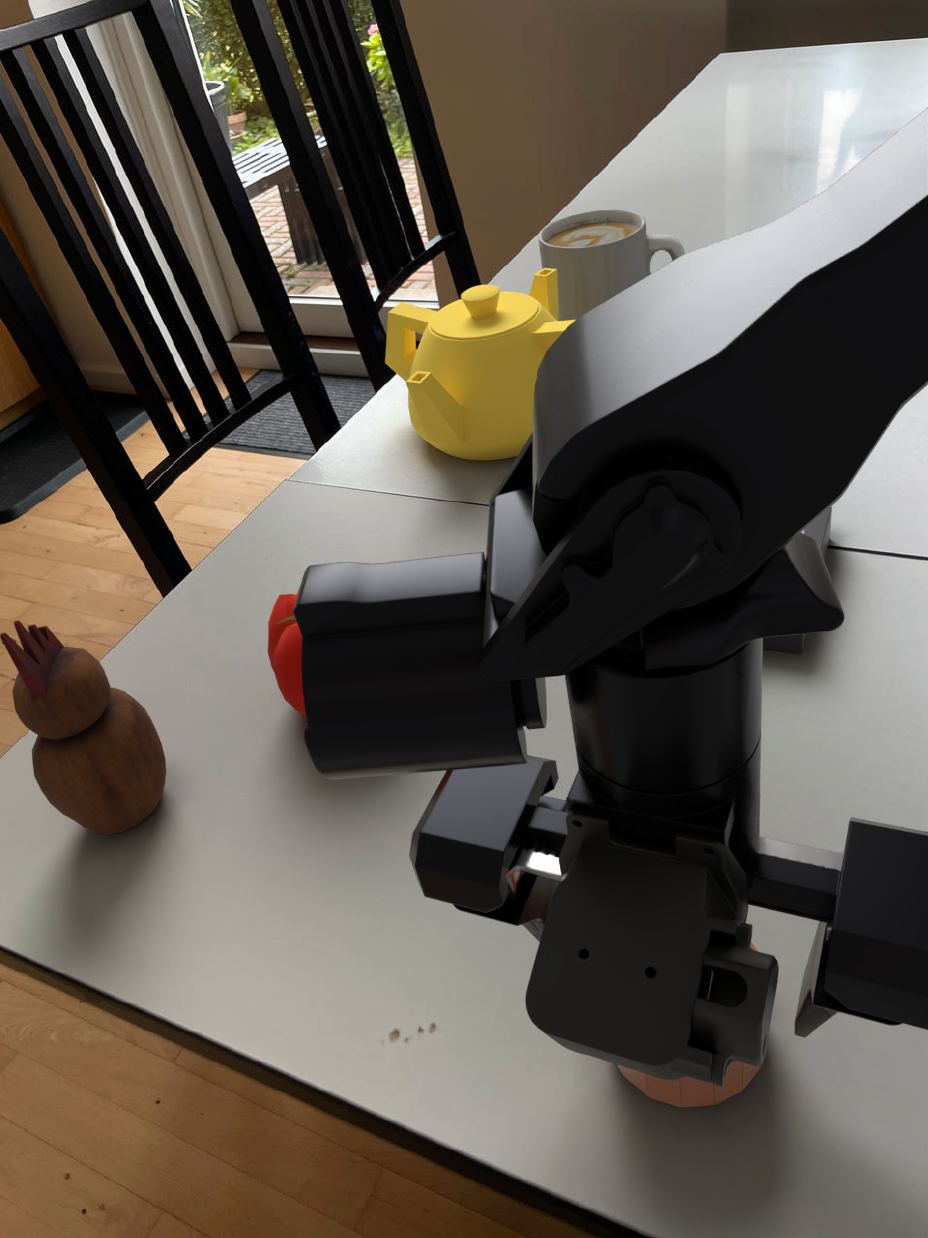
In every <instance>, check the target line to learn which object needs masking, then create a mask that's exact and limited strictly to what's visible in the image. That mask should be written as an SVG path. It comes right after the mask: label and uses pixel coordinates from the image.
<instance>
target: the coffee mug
mask: <svg viewBox="0 0 928 1238" xmlns="http://www.w3.org/2000/svg"><path fill="white" fill-rule="evenodd" d="M538 246H539V254H540V262H541V270H542V269H544V268H550V269H557V280H558V316H559V321H568V320H577V319H578V318H580V317H581V316H582V315H584V314H585V313H587V312H589V311H590V310H592V309H594V308H595V307H597V306H599V305H600V304H602V303H604V302H605V301H607V300H609V299H610V298H612V297H614V296H615V295H617V294H619V293H620V292H622V291H623V290H625V289H627V288H628V287H630V286H632V285H633V284H635V283H637V282H638V281H640V280H642V279H643V278H645V277H647V276H648V275H650V274H652V273H651V262H652V258H653V257H654V255H655V254H656V253H657V252H659V251H664V252H666V253H668V254H669V256H670V258H671V262H672V261H673V260H675V259H677V258H678V257H680V256H682V255H684V254H686V251H685V248H684V245H683V244H682V242H681V241H680V240H679V238H677V237H676V236H673V235H670V234H661V233H660V234H658V233H657V234H648V233H647V223H646V218H645V217H644V216H643V214H640V213H639V212H637V211H634V210H630V209H619V208H606V209H605V208H603V209H595V210H594V209H593V210H588V211H582V212H577V213H573V214H570V215H567V216H563V217H561V218H559V219H556V220H554V221H552V222H550V223H548V224H547V225H546V226H544V227H543V228H542V229H541V230H540V231H539V233H538Z"/></svg>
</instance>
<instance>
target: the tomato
mask: <svg viewBox="0 0 928 1238" xmlns="http://www.w3.org/2000/svg"><path fill="white" fill-rule="evenodd" d="M299 589H300V587H299V588H298V590H297V592H296V593H295V594H294V593H285V594H283V593H282V594H279V595H278V597H277V598H276V600H275V602H274V604H273V606H272V610H271V613H270V615H269V619H268V622H267V625H268V627H267V629H268V632H267V655H268V659H269V663H270V667H271V669H272V671H273V673H274V676H275V680H276V683H277V686H278V689H279V691H280V693H281V695H282V697H283V699H284V700H285V702H287V703H288V704H289V705H290V706H291V708H293V709H294V710H296V711H297V712H298V713H299V714H300V715H301V716H304V717H306V712H305V705H304V697H303V687H302V670H301V660H302V635H301V633H300V630H299V627H298V624H297V622H296V619H295V616H294V613H293V609H294V606H295V602H296V599H297V595H298V592H299Z"/></svg>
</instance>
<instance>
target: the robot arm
mask: <svg viewBox="0 0 928 1238" xmlns="http://www.w3.org/2000/svg"><path fill="white" fill-rule="evenodd" d="M927 386H928V106H927V107H926V108H925V109H923V110H922V111H921V112H920V113H919V114H917V115H916V116H914V118H912V119H911V120H909V122H907V123H906V124H905V125H904V126H902V127H901V128H900V129H899V130H897V131H896V132H895V133H894V134H892V135H891V136H890V137H889V138H888V139H886V140H884V142H882V143H881V144H880V145H879V146H878V147H876V148H875V149H873V150H872V151H871V152H870V153H868V155H867V156H865V157H864V158H863V159H861V160H860V161H859V162H858V163H857V164H855V165H854V166H853V167H852V168H850V169H849V170H848V171H847V172H846V173H844V174H843V175H842V176H840V177H839V178H838V179H837V180H835V182H833V183H832V184H830V185H829V186H827V188H826V189H824V190H823V191H821V192H819V194H817V195H815V196H813V197H811V198H810V199H808V200H807V201H805V202H803V203H802V204H800V205H798V206H797V207H795V208H793V209H792V210H789V211H788V212H786V213H784V214H783V215H781V216H779V217H778V218H776V219H775V220H772V221H770V222H768V223H766V224H764V225H761V226H758V227H754V228H751V229H750V230H746V231H744V232H741V233H738V234H735V235H732V236H730V237H727V238H724V239H722V240H719V241H716V242H713V243H710V244H708V245H705V246H702V247H699V248H696V249H692V250H690V251H688V252H685V254H684V255H682V256H680V257H678V258H677V259H675V260H673V261H672V260H671V261H670V262H668V263H667V264H665V265H663V266H661V267H660V268H658V269H657V270H655V271H653V272H652V273H651V274H650V275H648V276H647V277H645V278H643V279H642V280H640V281H638V282H637V283H635V284H633V285H632V286H630V287H628V288H627V289H625V290H623V291H622V292H620V293H619V294H617V295H615V296H614V297H612V298H610V299H609V300H607V301H605V302H604V303H602V304H600V305H599V306H597V307H595V308H594V309H592V310H590V311H589V312H587V313H585V314H584V315H582V316H581V317H580V318H578V319H577V320H575V321H574V322H573V323H571V324H570V325H569V326H568V327H567V328H566V329H565V330H564V332H563V333H562V334H561V335H560V336H559V337H558V338H557V340H556V341H555V342H554V343H553V344H552V345H551V347H550V348H549V349H548V350H547V351H546V354H545V356H544V358H543V360H542V362H541V364H540V366H539V368H538V370H537V379H536V382H535V387H534V402H533V432H532V434H531V435H530V437H529V438H528V440H527V442H526V443H525V445H524V446H523V448H522V450H521V451H520V453H519V454H518V456H516V458H515V459H514V461H513V463H512V464H511V466H509V468H508V470H507V472H506V473H505V475H504V476H503V478H502V480H501V481H500V483H499V484H498V486H497V488H496V489H495V491H494V492H493V494H492V495H491V497H490V499H489V501H488V514H487V515H488V517H487V533H486V534H487V535H486V548H485V549H486V550H485V552H484V551H478V552H469V553H461V554H460V553H459V554H451V555H443V556H434V557H425V558H424V557H423V558H416V559H405V560H398V561H390V562H389V561H388V562H381V563H380V562H378V563H367V562H358V561H338V562H337V561H336V562H329V563H321V564H320V563H319V564H312V565H308V566H307V568H306V569H305V570H304V572H303V575H302V577H301V582H300V586H299V588H300V589H299V588H298V590H299V592H298V591H297V592H298V595H297V599H296V602H295V606H294V609H293V613H294V616H295V619H296V622H297V624H298V627H299V630H300V633H301V635H302V660H301V670H302V687H303V697H304V705H305V712H306V716H305V717H306V722H305V726H304V731H303V732H304V733H303V737H304V738H303V739H304V743H305V746H306V750H307V752H308V754H309V757H310V760H311V761H312V763H313V765H314V767H315V769H316V771H318V773H319V774H320V775H321V776H322V777H323V778H325V779H327V780H330V781H331V780H332V781H333V780H343V779H356V778H369V777H382V776H394V775H395V776H396V775H407V774H408V775H409V774H418V773H421V774H422V773H431V772H444V771H445V772H444V774H443V776H442V777H441V779H440V782H439V784H438V785H437V787H436V789H435V791H434V792H433V794H432V797H431V798H430V800H429V802H428V804H427V806H426V807H425V809H424V811H423V813H422V815H421V817H420V818H419V820H418V822H417V824H416V826H415V828H414V829H413V832H412V833H411V840H410V845H409V853H408V857H409V860H410V863H411V865H412V868H413V872H414V876H415V878H416V881H417V884H418V885H419V887H420V890H421V892H422V894H423V896H424V898H428V899H431V900H435V901H439V902H442V903H447V904H449V905H452V906H453V907H454V908H455V909H456V910H458V911H460V912H463V913H467V914H471V915H474V916H478V917H480V918H486V919H489V920H493V921H496V922H501V923H504V924H506V925H507V924H508V925H511V926H515V927H519V926H523V927H524V928H525V929H526V930H527V931H528V932H529V933H530V934H531V935H532V937H534V938H535V939H536V941H538V942H539V943H538V947H537V950H536V954H535V957H534V961H533V965H532V968H531V972H530V975H529V979H528V983H527V987H526V992H525V997H524V1000H525V1001H524V1002H525V1003H524V1004H525V1010H526V1012H527V1015H528V1018H529V1020H530V1021H531V1023H532V1024H533V1025H534V1026H535V1027H536V1028H537V1029H538V1030H539V1031H541V1032H542V1033H543V1034H545V1035H546V1036H548V1037H549V1038H550V1039H552V1040H553V1041H555V1042H556V1043H557V1044H559V1045H560V1046H561V1047H563V1048H565V1049H567V1050H569V1051H571V1052H573V1053H576V1054H581V1055H584V1056H587V1057H591V1058H595V1059H598V1060H600V1061H604V1062H608V1063H611V1064H613V1065H616V1066H617V1065H620V1066H623V1067H626V1068H630V1069H633V1070H636V1071H639V1072H642V1073H644V1074H647V1075H650V1076H653V1077H656V1078H660V1079H664V1080H676V1079H680V1078H683V1077H685V1076H687V1077H691V1078H694V1079H697V1080H700V1081H704V1082H707V1083H712V1084H714V1085H717V1086H720V1087H723V1086H724V1083H725V1079H726V1074H727V1069H728V1067H729V1065H730V1064H731V1063H732V1062H735V1061H739V1062H743V1063H747V1064H750V1065H753V1066H757V1067H758V1066H760V1065H761V1064H762V1065H763V1064H764V1061H765V1056H766V1052H767V1047H768V1041H769V1034H770V1028H771V1023H772V1017H773V1012H774V1011H773V1010H774V1006H775V1000H776V994H777V989H778V981H779V972H780V971H779V970H780V966H779V962H778V960H777V958H776V957H775V955H773V954H769V953H765V952H762V951H759V950H758V951H755V950H753V949H752V948H751V947H750V945H751V942H752V937H753V930H754V929H753V924H751V923H747V919H748V914H749V906H753V907H757V908H762V909H765V910H770V911H773V912H778V913H782V914H787V915H792V916H795V917H800V918H803V919H808V920H813V921H817V922H818V924H817V928H816V930H815V933H814V937H813V942H812V945H811V948H810V952H809V955H808V959H807V962H806V966H805V968H804V972H803V976H802V980H801V986H800V991H799V996H798V1002H797V1007H796V1013H795V1019H794V1035H795V1036H797V1037H800V1038H804V1039H805V1038H807V1037H808V1036H810V1035H811V1034H812V1033H814V1031H816V1030H817V1029H818V1028H820V1027H821V1026H822V1025H824V1024H825V1023H827V1022H828V1020H830V1019H831V1018H833V1017H834V1016H835V1015H836V1014H838V1013H840V1014H844V1015H849V1016H852V1017H855V1018H859V1019H864V1020H868V1021H871V1022H875V1023H878V1024H882V1025H886V1026H890V1027H898V1026H900V1025H907V1026H910V1027H915V1028H919V1029H922V1030H926V1031H928V831H925V830H921V829H915V828H909V827H905V826H899V825H894V824H889V823H885V822H879V821H873V820H868V819H863V818H857V817H854V816H853V817H851V816H850V818H849V819H848V820H849V821H848V827H847V833H846V839H845V844H844V850H843V851H833V850H828V849H823V848H819V847H813V846H809V845H804V844H799V843H793V842H790V841H784V840H779V839H775V838H769V837H765V836H760V832H761V831H760V829H761V827H760V826H761V818H760V817H761V773H762V772H761V770H762V769H761V768H762V766H761V765H762V764H761V763H762V714H763V712H762V711H763V710H762V709H763V707H762V706H763V655H764V654H763V653H764V652H763V650H764V649H763V638H766V637H776V636H786V635H797V634H806V635H808V634H816V633H817V634H818V633H827V632H832V631H836V630H837V629H839V628H840V627H841V626H842V625H843V623H844V621H845V619H846V618H845V612H844V609H843V607H842V604H841V601H840V599H839V595H838V593H837V591H836V589H835V586H834V582H833V580H832V578H831V574H830V573H829V570H828V568H827V564H826V562H825V560H824V559H823V557H822V554H821V551H820V549H819V546H818V544H817V542H816V540H815V539H813V538H812V537H810V536H807V535H805V534H803V533H801V532H802V531H803V530H804V529H805V528H806V527H808V526H809V525H810V524H811V523H812V522H813V521H815V520H816V519H817V518H818V517H819V516H820V515H822V514H823V513H824V512H825V511H826V510H827V509H829V508H830V507H832V506H833V505H835V504H836V503H837V502H838V501H839V500H840V499H841V498H842V497H843V496H844V495H845V493H846V492H847V490H848V489H849V487H850V486H851V484H853V483H852V482H853V481H854V480H855V478H856V477H857V475H858V474H859V473H860V471H861V469H862V468H863V466H864V464H865V463H866V462H867V460H868V459H869V457H870V456H871V454H872V453H873V451H874V450H875V448H876V447H877V445H878V443H879V442H880V440H881V439H882V437H883V436H884V434H886V432H887V430H888V428H889V427H890V426H891V425H892V423H893V421H894V420H895V418H896V416H897V415H898V413H899V412H901V410H902V409H903V408H904V407H905V406H906V404H907V403H909V402H910V401H911V400H912V399H914V398H915V397H916V396H917V395H918V394H919V393H920V392H921V391H922V390H924V389H925V388H926V387H927ZM563 676H564V680H565V686H566V694H567V700H568V707H569V713H570V719H571V726H572V732H573V733H572V734H573V741H574V747H575V754H576V755H575V756H576V761H577V767H578V769H577V772H576V775H575V777H574V780H573V782H572V784H571V786H570V789H569V791H568V793H567V796H566V798H565V799H561V798H557V797H551V796H546V795H547V794H549V793H550V792H552V791H554V790H555V788H556V785H557V783H558V781H559V778H560V777H559V772H558V767H557V760H555V759H550V758H544V757H539V756H535V755H534V756H533V755H530V754H529V755H528V748H527V747H528V746H527V737H526V731H525V728H524V727H526V729H527V730H529V731H531V730H539V729H546V728H547V723H548V703H547V702H548V699H547V683H546V682H547V681H546V678H553V677H563ZM762 1065H761V1066H762Z"/></svg>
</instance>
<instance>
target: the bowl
mask: <svg viewBox="0 0 928 1238" xmlns="http://www.w3.org/2000/svg"><path fill="white" fill-rule="evenodd" d="M750 947H751V948H752V949H753V950H755V951H758V952H759V950H758V948H757V947H756V946H755V945H754V944H753V942H752V941H751V945H750ZM762 1065H763V1064H761V1065H760V1066H758V1067H757V1066H753V1065H750V1064H747V1063H743V1062H739V1061H735V1062H732V1063H731V1064H730V1065H729V1067H728V1069H727V1074H726V1079H725V1083H724V1086H723V1087H720V1086H717V1085H714V1084H712V1083H707V1082H704V1081H700V1080H697V1079H694V1078H691V1077H687V1076H685V1077H683V1078H680V1079H676V1080H664V1079H660V1078H656V1077H653V1076H650V1075H647V1074H644V1073H642V1072H639V1071H636V1070H633V1069H630V1068H626V1067H623V1066H620V1065H617V1064H616V1066H617V1067H618V1069H619V1071H620V1073H621V1075H622V1076H623V1077H624V1078H625V1079H626V1080H627V1081H628V1082H630V1083H631V1084H632V1085H634V1086H635V1088H637V1089H638V1090H640V1091H641V1092H642V1093H643V1094H644V1095H646V1096H647V1097H649V1098H650V1099H653V1100H656V1101H659V1102H662V1103H665V1104H669V1105H671V1106H675V1107H678V1108H693V1107H706V1106H709V1107H710V1106H714V1105H718V1104H719V1103H722V1102H724V1101H725V1100H726V1101H727V1099H729V1098H731V1097H733V1096H736V1095H737V1094H739V1093H740V1092H742V1091H743V1090H745V1089H746V1087H747V1086H748V1085H749V1084H750V1082H751V1081H752V1080H753V1078H754V1077H755V1076H756V1074H757V1073H758V1072H759V1071H760V1069H761V1067H762Z"/></svg>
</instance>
